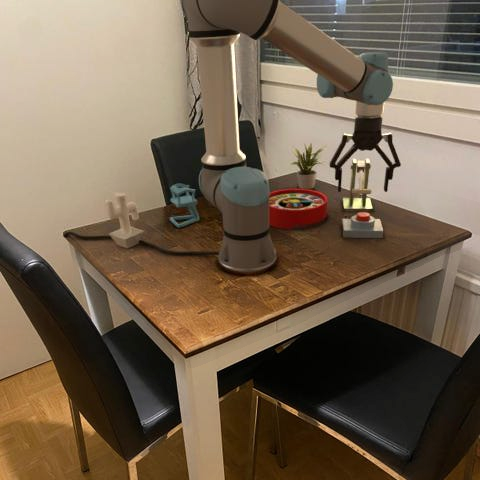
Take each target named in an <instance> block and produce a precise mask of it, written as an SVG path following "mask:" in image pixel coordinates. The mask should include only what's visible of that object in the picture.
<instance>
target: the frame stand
mask: <svg viewBox="0 0 480 480" xmlns="http://www.w3.org/2000/svg"><path fill="white" fill-rule="evenodd" d="M364 161H365V169H364V173H363V188H364V189H368V187H369V185H368V184H369V177H370V176H369V175H370V170H371V168H372V164H371V162H370V159H369V158H365V160H364ZM350 170H351V175H350V186H349V197H342V204H343V209H350V210H351V209H352V210H353V209H356V210H357V209H359V210H361V209H364V210H365V209H366V210H368V209H369V210H372V209H373V205H372V201H371V198H370V197H368V196H367V195H368V194H361V197H355V194H352V189H356V188H355V187H356V176H357V159H356V158H352V162H351V164H350Z"/></svg>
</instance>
